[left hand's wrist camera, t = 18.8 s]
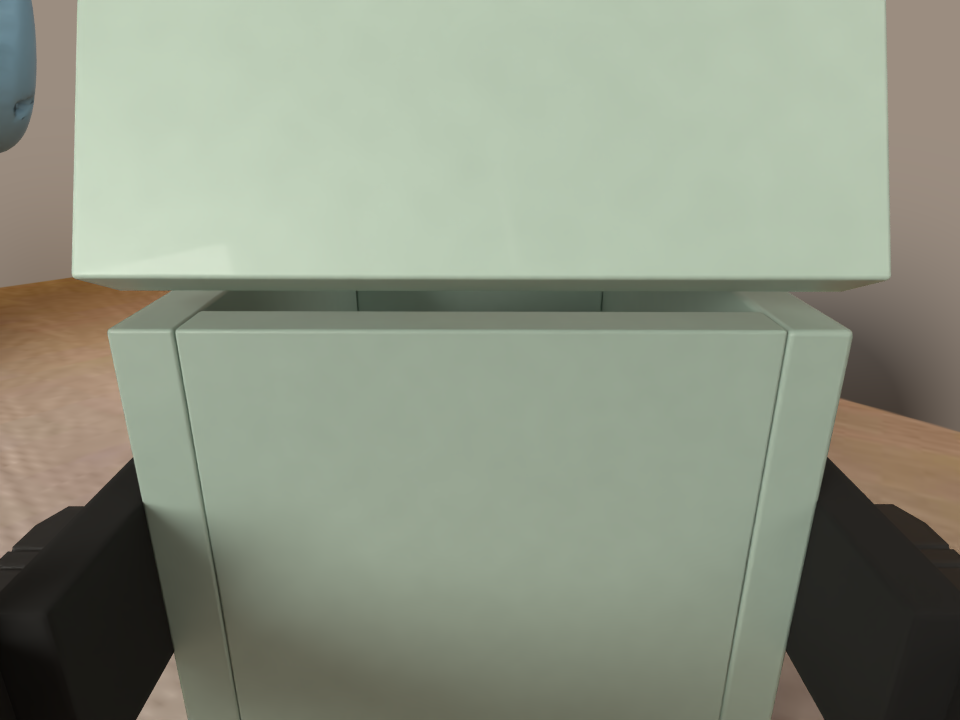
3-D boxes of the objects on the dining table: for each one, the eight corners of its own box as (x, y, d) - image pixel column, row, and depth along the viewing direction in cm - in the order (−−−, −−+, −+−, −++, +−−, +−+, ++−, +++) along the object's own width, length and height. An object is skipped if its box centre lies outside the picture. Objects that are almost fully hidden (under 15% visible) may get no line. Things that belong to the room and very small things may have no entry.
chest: (350, 491, 25) (327, 195, 21) (608, 491, 25) (632, 196, 21) (220, 881, 12) (104, 329, 8) (738, 881, 12) (857, 330, 8)
